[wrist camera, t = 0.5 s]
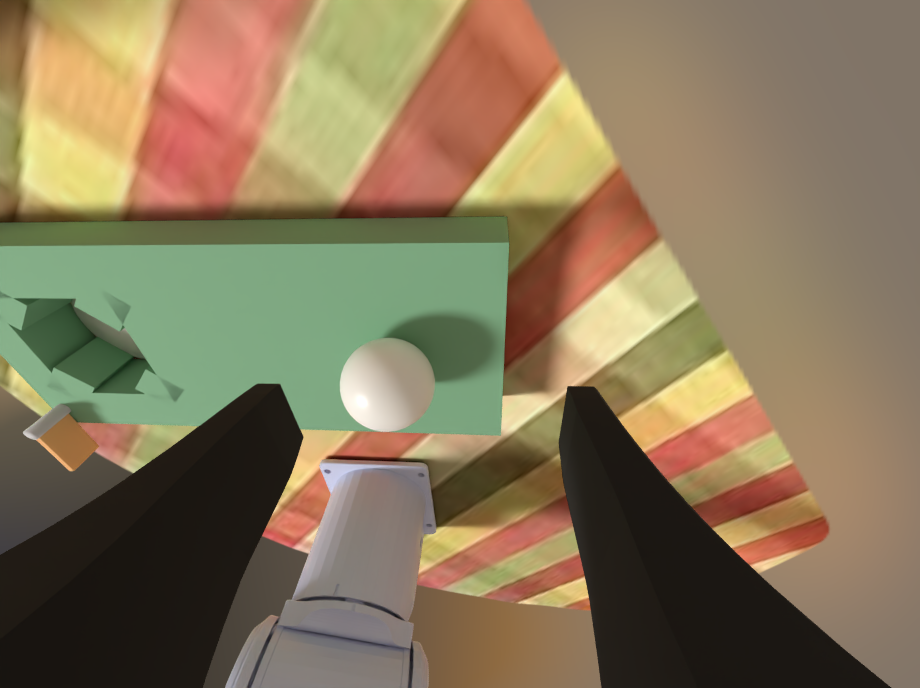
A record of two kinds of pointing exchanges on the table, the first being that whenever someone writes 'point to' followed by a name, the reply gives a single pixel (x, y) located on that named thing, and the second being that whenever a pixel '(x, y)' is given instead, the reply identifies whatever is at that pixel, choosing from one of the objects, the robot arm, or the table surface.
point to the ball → (387, 384)
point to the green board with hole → (248, 317)
